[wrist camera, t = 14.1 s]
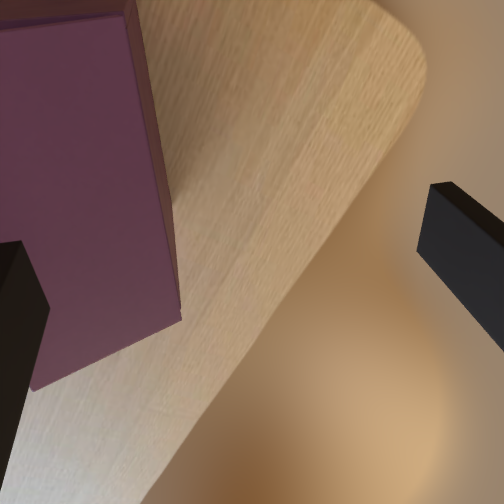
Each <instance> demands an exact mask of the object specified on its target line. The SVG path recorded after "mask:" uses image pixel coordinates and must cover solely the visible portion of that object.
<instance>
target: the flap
mask: <svg viewBox="0 0 504 504" xmlns="http://www.w3.org/2000/svg"><path fill="white" fill-rule="evenodd" d="M19 240H22V242H23V245H24V247H25V249H26V252H27V254H28V256H29V259H30V261H31V263H32V266H33V268H34V271H35V273H36V275H37V278H38V280H39V282H40V285H41V287H42V289H43V292H44V294H45V296H46V299H47V301H48V303H49V306H50V308H51V309H50V312H49V316H48V320H47V323H46V327H45V330H44V334H43V338H42V341H41V345H40V349H39V352H38V356H37V360H36V363H35V367H34V370H33V374H32V378H31V381H30V385H29V387H30V388H31V390H32V392H35V391H37V390H39V389H41V388H43V387H45V386H47V385H49V384H51V383H53V382H55V381H57V380H59V379H61V378H63V377H66V376H68V375H70V374H72V373H74V372H76V371H78V370H80V369H82V368H84V367H86V366H88V365H90V364H92V363H95V362H97V361H99V360H101V359H103V358H105V357H107V356H109V355H111V354H113V353H115V352H117V351H119V350H121V349H123V348H126V347H128V346H130V345H132V344H134V343H136V342H138V341H140V340H142V339H144V338H146V337H148V336H150V335H152V334H154V333H157V332H159V331H161V330H163V329H165V328H167V327H169V326H171V325H173V324H175V323H177V322H179V321H181V320H182V317H181V312H180V307H179V302H178V297H177V291H176V286H175V281H174V276H173V271H172V266H171V261H170V256H169V250H168V245H167V240H166V235H165V230H164V225H163V220H162V214H161V209H160V204H159V199H158V194H157V189H156V184H155V178H154V173H153V168H152V163H151V158H150V153H149V148H148V143H147V137H146V132H145V127H144V122H143V117H142V112H141V107H140V101H139V96H138V91H137V86H136V81H135V76H134V71H133V66H132V60H131V55H130V50H129V45H128V40H127V35H126V30H125V24H124V19H123V16H121V15H112V16H105V17H97V18H89V19H82V20H74V21H66V22H59V23H51V24H43V25H36V26H28V27H21V28H13V29H5V30H0V243H4V242H12V241H19Z"/></svg>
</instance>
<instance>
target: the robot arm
mask: <svg viewBox="0 0 504 504" xmlns="http://www.w3.org/2000/svg"><path fill="white" fill-rule="evenodd" d="M417 252H418V253H419V254H420V256H421V257H422V258H423V259H424V260H425V261H426V263H427V264H428V265H429V266H430V267H431V268H432V270H433V271H434V272H435V273H436V274H437V275H438V276H439V278H440V279H441V280H442V281H443V282H444V283H445V284H446V285H447V287H448V288H449V289H450V290H451V291H452V293H453V294H454V295H455V296H456V297H457V298H458V299H459V301H460V302H461V303H462V304H463V305H464V306H465V308H466V309H467V310H468V311H469V312H470V313H471V314H472V316H473V317H474V318H475V319H476V320H477V321H478V323H479V324H480V325H481V326H482V327H483V328H484V330H486V332H487V333H488V334H489V335H490V336H491V338H492V339H493V340H494V341H495V342H496V343H497V345H498V346H499V347H500V348H501V349H502V350H503V351H504V222H502V221H501V220H500V219H498V218H497V217H496V216H495V215H493V214H492V213H491V212H490V211H488V210H487V209H486V208H485V207H483V206H482V205H481V204H480V203H478V202H477V201H476V200H474V199H473V198H472V197H471V196H469V195H468V194H467V193H465V192H464V191H463V190H462V189H461V188H459V187H458V186H456V185H455V184H454V183H453V182H444V183H436V184H431V185H430V189H429V194H428V198H427V203H426V208H425V213H424V218H423V223H422V227H421V232H420V236H419V241H418V246H417ZM50 309H51V308H50V306H49V303H48V301H47V299H46V296H45V294H44V292H43V289H42V287H41V285H40V282H39V280H38V278H37V275H36V273H35V271H34V268H33V266H32V263H31V261H30V259H29V256H28V254H27V252H26V249H25V247H24V245H23V242H22V240H19V241H12V242H4V243H0V490H1V487H2V483H3V479H4V476H5V472H6V469H7V465H8V461H9V458H10V454H11V450H12V447H13V443H14V439H15V436H16V432H17V429H18V425H19V421H20V418H21V414H22V410H23V407H24V403H25V399H26V396H27V392H28V389H29V385H30V381H31V378H32V374H33V370H34V367H35V363H36V360H37V356H38V352H39V349H40V345H41V341H42V338H43V334H44V330H45V327H46V323H47V320H48V316H49V312H50Z"/></svg>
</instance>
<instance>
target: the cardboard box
mask: <svg viewBox="0 0 504 504" xmlns="http://www.w3.org/2000/svg"><path fill="white" fill-rule="evenodd" d="M112 15H121V16H123V19H124V24H125V30H126V35H127V40H128V45H129V50H130V55H131V60H132V66H133V71H134V76H135V81H136V86H137V91H138V96H139V101H140V107H141V112H142V117H143V122H144V127H145V132H146V137H147V143H148V148H149V153H150V158H151V163H152V168H153V173H154V178H155V184H156V189H157V194H158V199H159V204H160V209H161V214H162V220H163V225H164V230H165V235H166V240H167V245H168V250H169V256H170V261H171V266H172V271H173V276H174V281H175V286H176V291H177V297H178V302H179V307H180V309H181V301H180V290H179V279H178V267H177V256H176V245H175V234H174V223H173V211H172V203H171V198H170V192H169V186H168V181H167V175H166V169H165V164H164V158H163V152H162V147H161V141H160V135H159V130H158V124H157V118H156V113H155V107H154V101H153V96H152V90H151V84H150V79H149V73H148V67H147V62H146V56H145V50H144V45H143V39H142V33H141V28H140V22H139V16H138V11H137V5H136V0H0V30H5V29H13V28H21V27H28V26H36V25H43V24H51V23H59V22H66V21H74V20H82V19H89V18H97V17H105V16H112Z"/></svg>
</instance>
